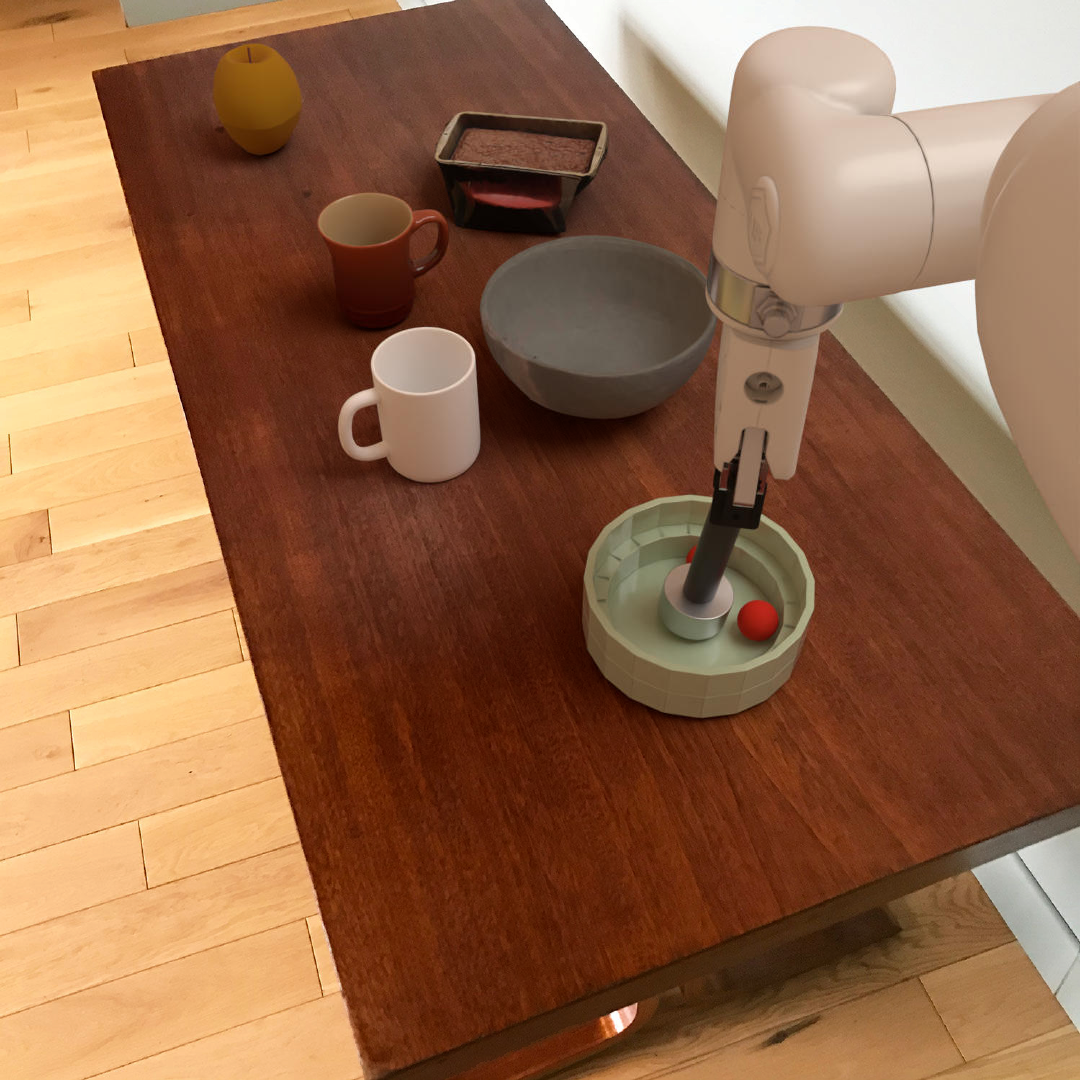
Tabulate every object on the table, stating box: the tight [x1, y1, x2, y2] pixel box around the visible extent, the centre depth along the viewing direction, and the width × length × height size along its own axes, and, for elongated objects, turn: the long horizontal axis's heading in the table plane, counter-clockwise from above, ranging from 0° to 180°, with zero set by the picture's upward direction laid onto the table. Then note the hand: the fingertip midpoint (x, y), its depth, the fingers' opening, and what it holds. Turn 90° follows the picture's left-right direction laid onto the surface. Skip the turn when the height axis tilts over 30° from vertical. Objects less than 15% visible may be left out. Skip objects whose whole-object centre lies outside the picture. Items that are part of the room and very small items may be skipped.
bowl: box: [479, 234, 718, 420], centre depth 98 cm, size 20×20×10 cm
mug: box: [316, 192, 450, 329], centre depth 105 cm, size 12×9×10 cm
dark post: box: [658, 463, 741, 640], centre depth 76 cm, size 5×5×18 cm
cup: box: [337, 326, 481, 484], centre depth 92 cm, size 8×12×10 cm
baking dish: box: [433, 111, 610, 234], centre depth 118 cm, size 14×18×10 cm
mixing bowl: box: [581, 494, 816, 719], centre depth 81 cm, size 16×16×6 cm
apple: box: [212, 43, 303, 156], centre depth 124 cm, size 10×10×12 cm
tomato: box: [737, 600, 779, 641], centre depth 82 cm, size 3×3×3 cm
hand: (735, 504), depth 74 cm, fingers closed on dark post, 2 cm apart
